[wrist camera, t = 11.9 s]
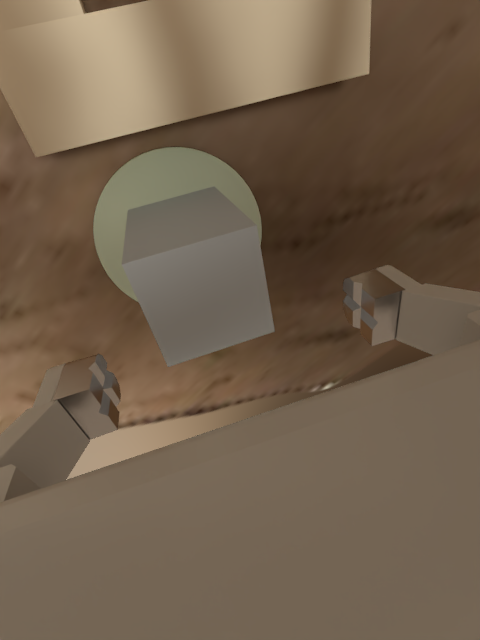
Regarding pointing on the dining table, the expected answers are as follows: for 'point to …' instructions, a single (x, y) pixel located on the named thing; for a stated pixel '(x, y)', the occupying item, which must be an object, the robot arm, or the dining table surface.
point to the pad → (160, 197)
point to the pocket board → (166, 61)
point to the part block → (197, 274)
